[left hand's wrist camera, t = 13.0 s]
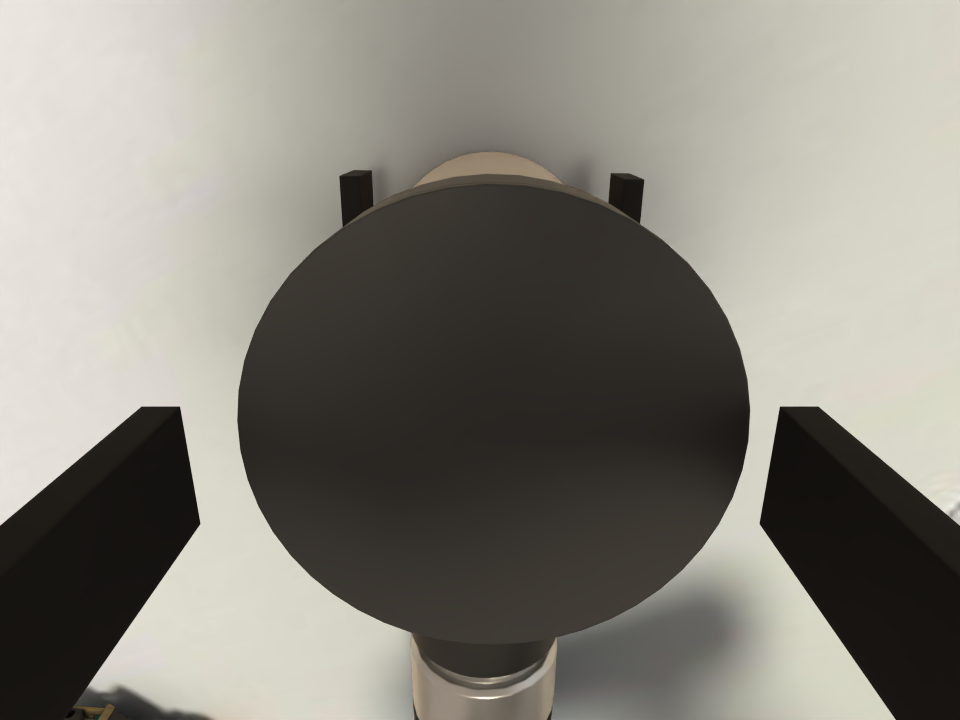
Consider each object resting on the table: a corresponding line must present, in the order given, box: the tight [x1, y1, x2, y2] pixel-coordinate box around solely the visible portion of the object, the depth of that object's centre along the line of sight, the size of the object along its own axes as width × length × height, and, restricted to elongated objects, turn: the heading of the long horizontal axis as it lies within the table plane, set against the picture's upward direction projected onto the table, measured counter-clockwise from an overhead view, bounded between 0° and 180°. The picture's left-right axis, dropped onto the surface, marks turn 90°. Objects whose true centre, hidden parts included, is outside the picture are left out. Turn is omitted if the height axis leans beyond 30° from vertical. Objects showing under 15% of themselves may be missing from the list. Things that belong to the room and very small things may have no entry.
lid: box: [237, 174, 750, 644], centre depth 15 cm, size 11×11×2 cm
